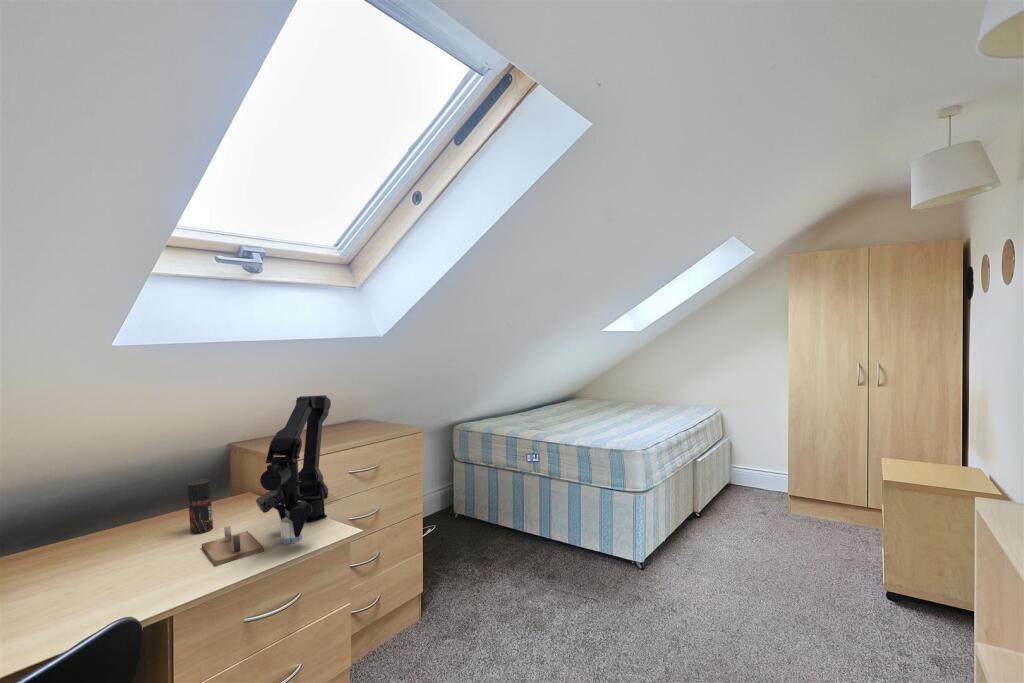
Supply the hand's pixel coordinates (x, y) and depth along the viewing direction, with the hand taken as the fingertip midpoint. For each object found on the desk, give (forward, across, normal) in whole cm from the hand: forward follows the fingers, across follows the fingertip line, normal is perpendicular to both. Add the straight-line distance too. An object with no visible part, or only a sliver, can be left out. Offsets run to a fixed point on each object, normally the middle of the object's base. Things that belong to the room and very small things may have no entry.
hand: (291, 532), depth 150 cm
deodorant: (+2, -28, -17) cm, 33 cm away
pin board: (+2, -6, -14) cm, 15 cm away
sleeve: (+2, 0, 0) cm, 2 cm away
